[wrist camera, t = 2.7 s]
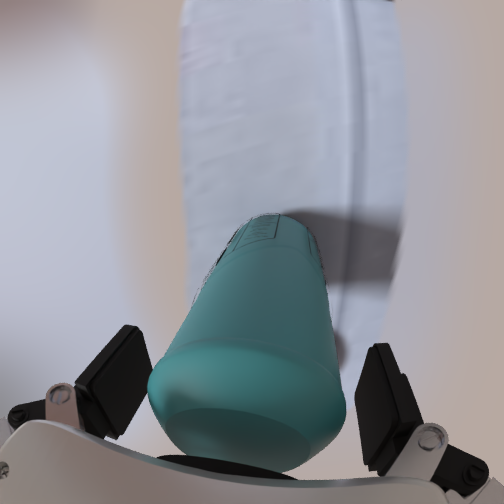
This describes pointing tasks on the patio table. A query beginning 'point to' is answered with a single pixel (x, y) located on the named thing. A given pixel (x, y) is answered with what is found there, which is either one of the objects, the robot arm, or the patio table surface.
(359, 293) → the patio table surface
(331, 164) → the patio table surface
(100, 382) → the robot arm
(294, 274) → the beverage bottle
